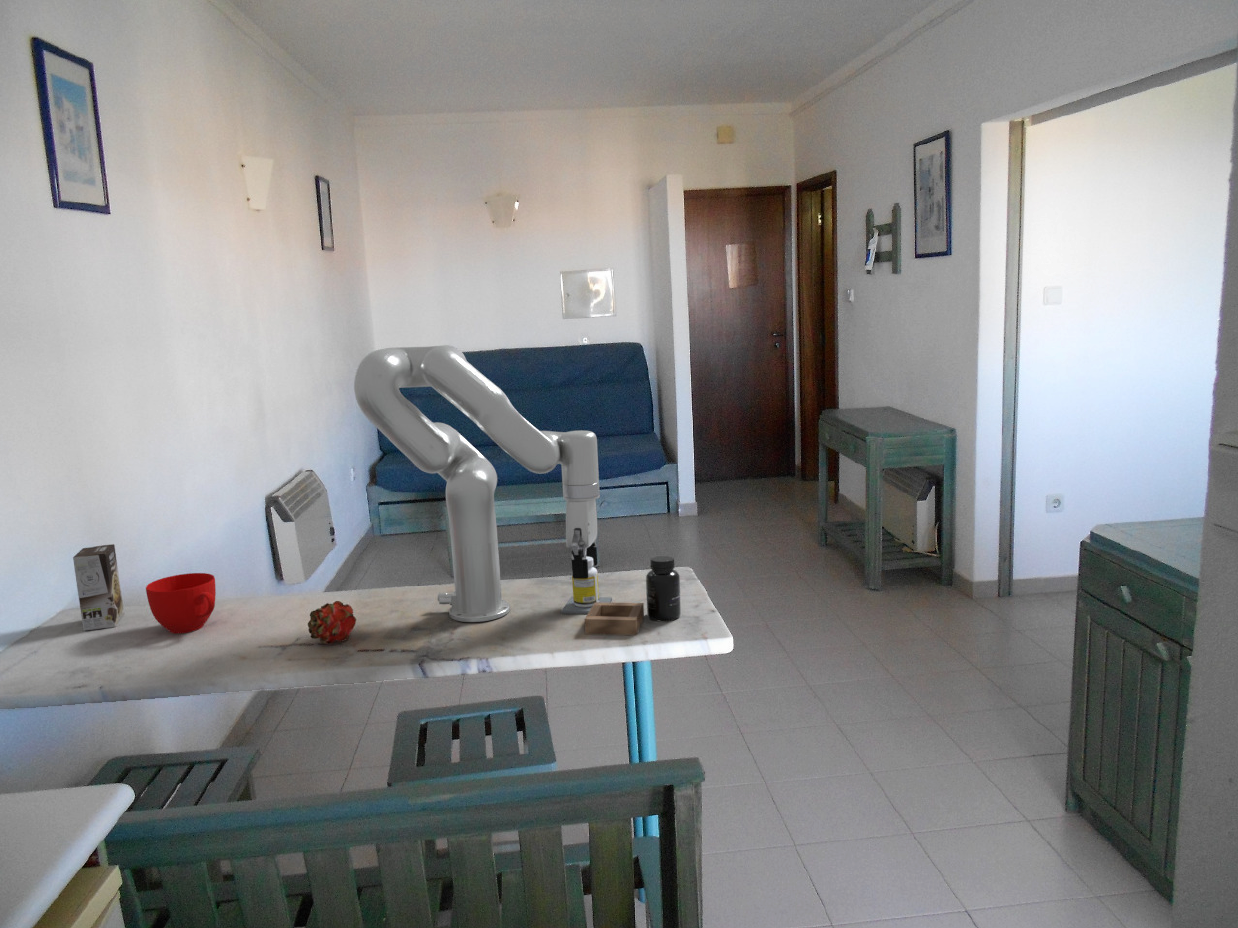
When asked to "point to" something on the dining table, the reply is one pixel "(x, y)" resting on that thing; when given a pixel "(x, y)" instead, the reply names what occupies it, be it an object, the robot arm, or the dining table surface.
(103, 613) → the coffee box
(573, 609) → the slate mat
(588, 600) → the supplement bottle
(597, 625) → the walnut collar
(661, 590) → the supplement bottle
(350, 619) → the dragon fruit
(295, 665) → the dining table surface
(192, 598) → the ceramic cup
